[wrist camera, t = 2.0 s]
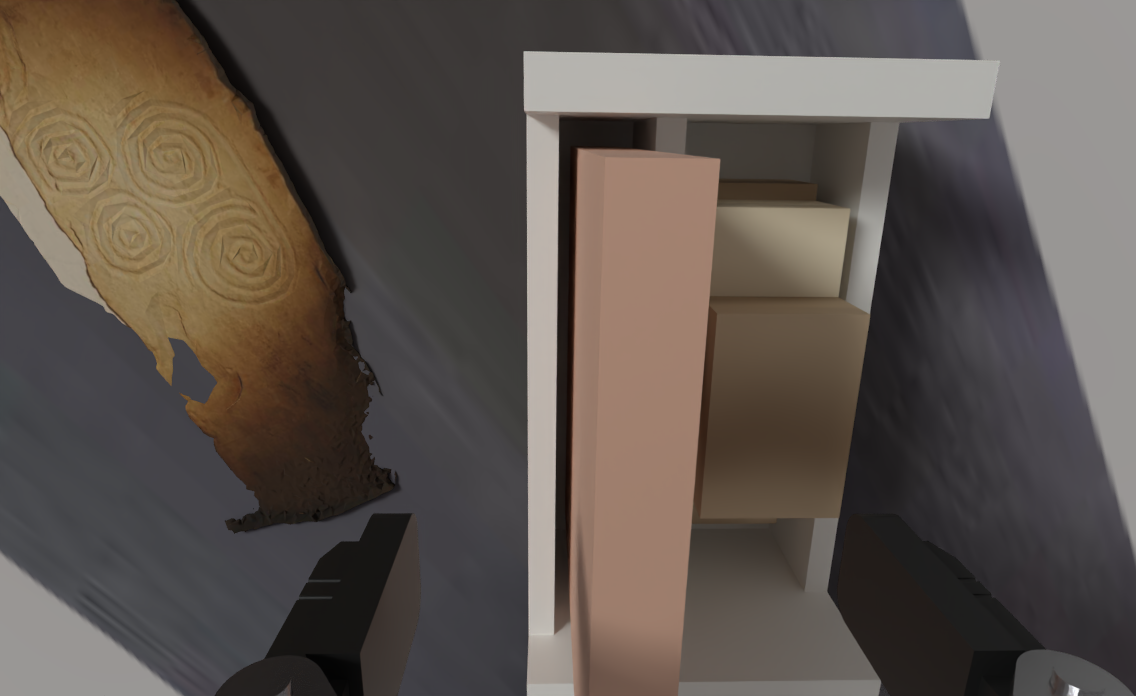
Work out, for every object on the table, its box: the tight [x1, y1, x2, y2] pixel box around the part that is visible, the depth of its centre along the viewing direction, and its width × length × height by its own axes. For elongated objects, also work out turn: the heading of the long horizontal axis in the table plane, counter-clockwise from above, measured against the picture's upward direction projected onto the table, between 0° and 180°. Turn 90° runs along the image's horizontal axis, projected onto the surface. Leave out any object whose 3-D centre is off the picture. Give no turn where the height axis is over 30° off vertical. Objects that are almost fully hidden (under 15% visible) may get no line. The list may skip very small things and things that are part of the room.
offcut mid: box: [710, 199, 851, 297], centre depth 21 cm, size 9×4×2 cm, turn 179°
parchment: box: [0, 0, 397, 534], centre depth 24 cm, size 25×10×1 cm, turn 23°
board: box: [565, 146, 720, 696], centre depth 18 cm, size 14×2×14 cm, turn 179°
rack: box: [524, 51, 1000, 696], centre depth 21 cm, size 18×10×9 cm, turn 179°
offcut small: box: [693, 296, 870, 519], centre depth 19 cm, size 6×4×2 cm, turn 179°
